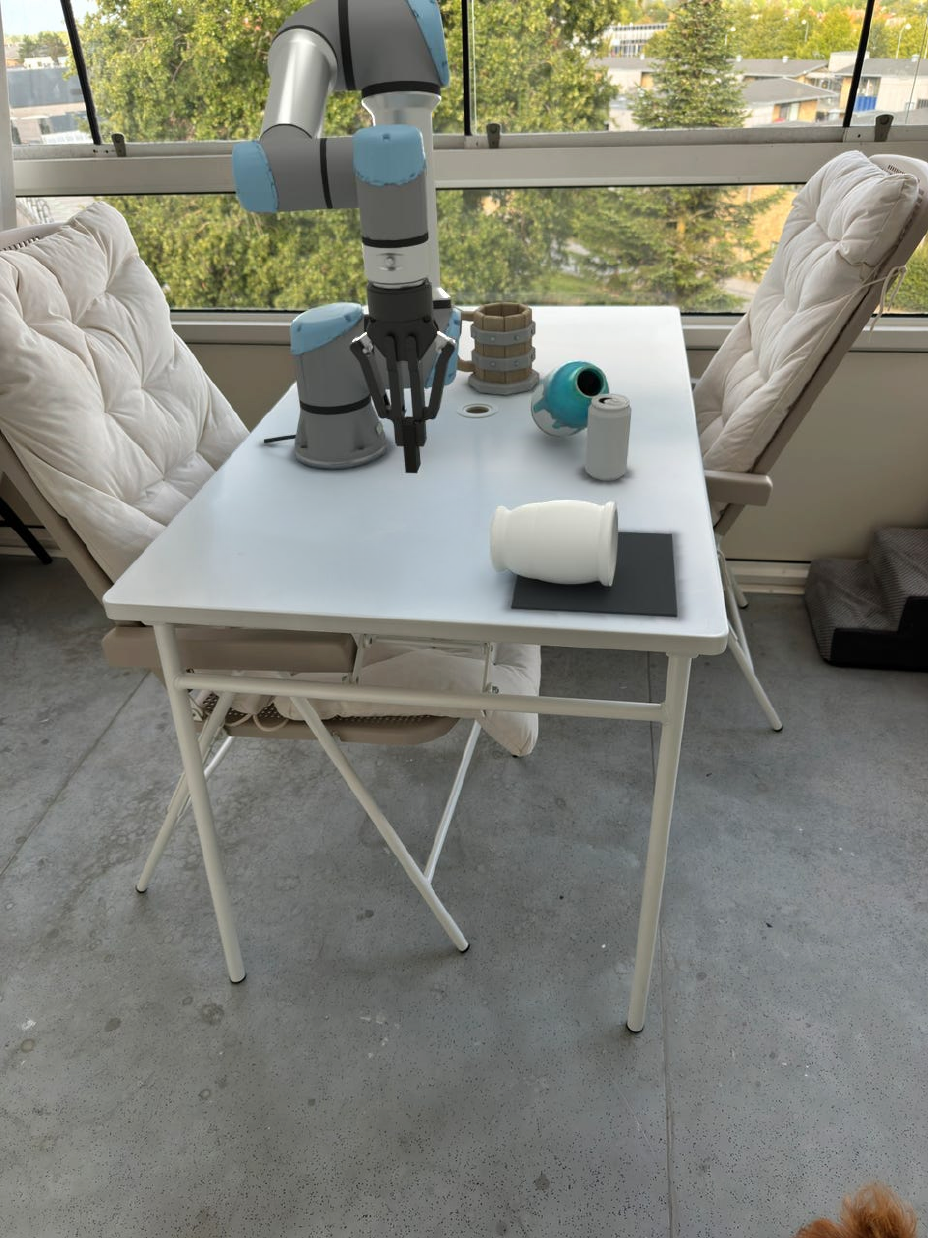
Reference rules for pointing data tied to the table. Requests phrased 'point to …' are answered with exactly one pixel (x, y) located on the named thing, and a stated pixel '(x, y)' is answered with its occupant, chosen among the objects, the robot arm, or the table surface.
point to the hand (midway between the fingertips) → (413, 468)
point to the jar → (557, 541)
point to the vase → (567, 397)
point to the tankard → (500, 348)
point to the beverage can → (608, 436)
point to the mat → (614, 583)
